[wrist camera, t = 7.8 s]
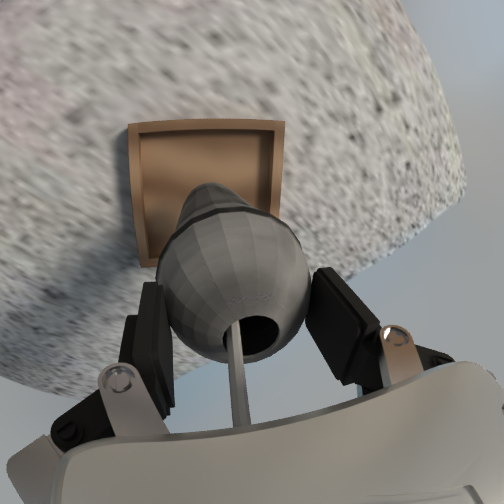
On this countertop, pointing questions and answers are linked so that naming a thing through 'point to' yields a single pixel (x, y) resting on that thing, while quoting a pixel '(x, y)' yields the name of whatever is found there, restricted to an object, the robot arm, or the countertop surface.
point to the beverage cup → (233, 284)
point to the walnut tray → (199, 170)
